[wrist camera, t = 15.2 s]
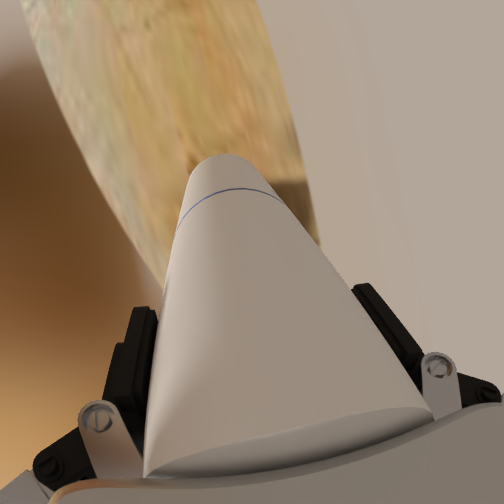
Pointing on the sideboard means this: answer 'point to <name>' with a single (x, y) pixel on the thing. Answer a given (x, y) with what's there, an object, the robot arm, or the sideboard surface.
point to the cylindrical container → (262, 343)
